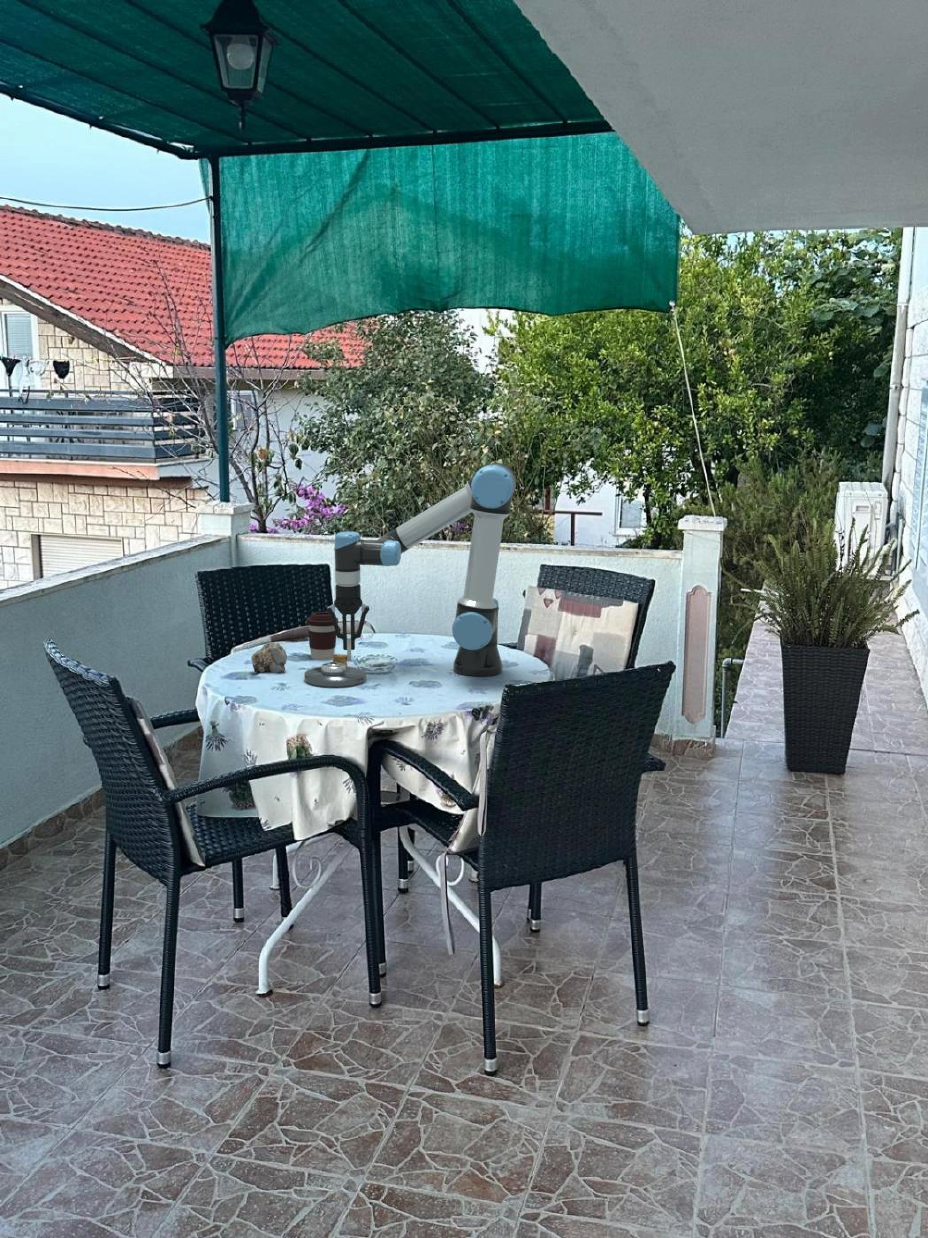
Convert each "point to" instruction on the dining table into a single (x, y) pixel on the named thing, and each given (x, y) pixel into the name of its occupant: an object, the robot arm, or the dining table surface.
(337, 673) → the cover
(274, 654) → the rock
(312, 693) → the dining table surface
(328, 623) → the coffee cup
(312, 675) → the turntable
